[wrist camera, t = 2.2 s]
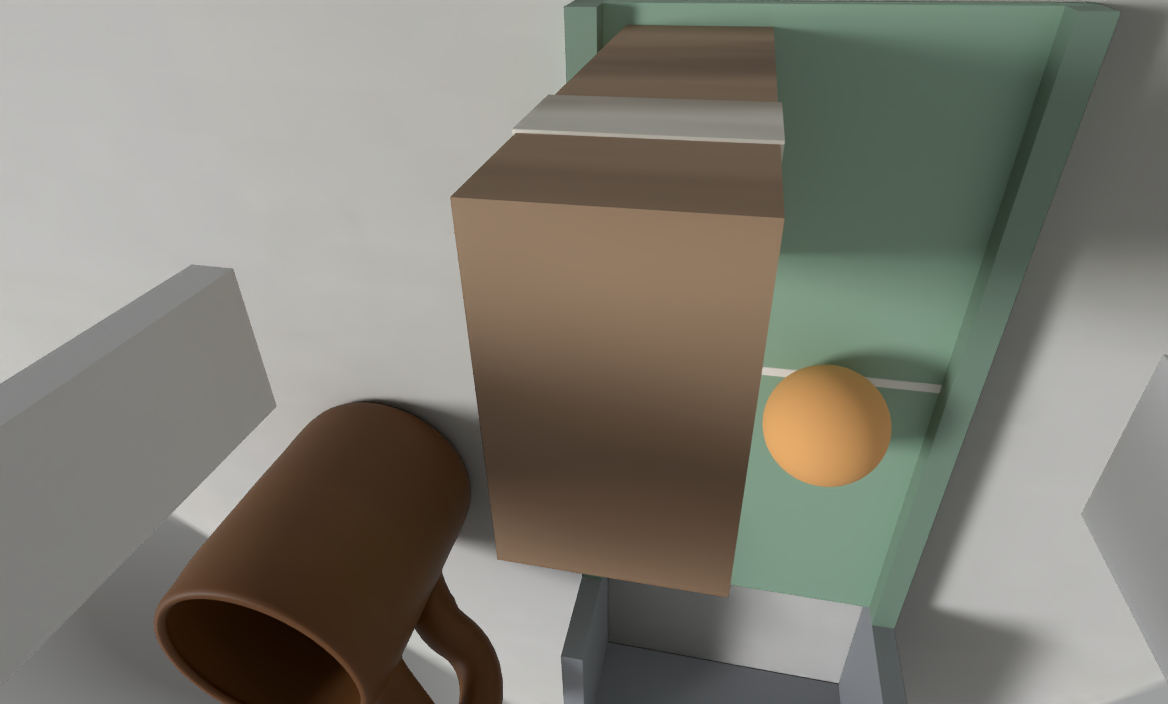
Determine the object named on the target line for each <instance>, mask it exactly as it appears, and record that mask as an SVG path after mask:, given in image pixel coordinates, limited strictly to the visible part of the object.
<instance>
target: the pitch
mask: <svg viewBox="0 0 1168 704" xmlns="http://www.w3.org/2000/svg"><path fill="white" fill-rule="evenodd" d="M1120 13H1121V11H1119V10H1116V9H1113V8H1110V7H1107V6H1104V5H1101V4H1098V3H1095V2H937V1H777V0H575V1H573V2H571V3H570V4H568V5H566V6H564V21H565V53H566V83H567V82H568V81H569V80H571V79H572V78H573V77H574V76H575V75H576V74H577V73H578V72H579V71H580V70H581V69H582V68H583V67H584V66H585V65H586V64H587V63H588V62H589V61H590V60H591V59H592V58H593V57H594V56H595V55H596V54H597V53H598V52H599V51H600V50H601V49H602V48H603V47H604V46H605V45H606V44H607V43H608V42H609V41H610V40H611V39H612V38H613V37H614V36H616V35H617V34H618V33H619V32H620V31H621V30H622V29H623V28H624V27H625V26H626V25H676V26H752V27H774V40H775V58H776V75H777V93H778V102H782V108H783V122H784V135H785V144H784V151H783V158H782V180H783V198H784V215H785V220H784V226H783V233H782V240H781V246H780V253H779V260H778V267H777V273H776V280H775V287H774V294H773V300H772V307H771V314H770V321H769V327H768V334H767V341H766V348H765V354H764V361H763V368H762V375H761V381H760V388H759V395H758V402H757V408H756V415H755V422H754V429H753V435H752V442H751V449H750V455H749V462H748V469H747V476H746V482H745V489H744V496H743V503H742V509H741V516H740V523H739V530H738V536H737V543H736V550H735V557H734V563H733V570H732V577H731V584H730V585H734V586H740V587H747V588H753V589H759V590H765V591H771V592H778V593H784V594H790V595H796V596H802V597H809V598H815V599H821V600H827V601H833V602H839V603H846V604H852V605H858V606H864V607H863V610H862V613H861V616H860V619H859V622H858V625H857V628H856V632H855V635H854V638H853V641H852V644H851V647H850V650H849V654H848V657H847V660H846V663H845V666H844V669H843V672H842V675H841V679H840V682H839V684H834V683H828V682H823V681H817V680H812V679H806V678H801V677H795V676H790V675H784V674H779V673H773V672H768V671H763V670H757V669H752V668H746V667H741V666H735V665H730V664H724V663H719V662H713V661H708V660H702V659H697V658H691V657H686V656H680V655H675V654H669V653H664V652H659V651H653V650H648V649H642V648H637V647H631V646H626V645H620V644H615V643H609V642H608V578H607V577H601V576H594V575H588V574H582V579H581V583H580V587H579V591H578V594H577V598H576V602H575V606H574V609H573V613H572V617H571V621H570V624H569V628H568V632H567V636H566V639H565V643H564V647H563V651H562V654H561V664H562V680H563V695H564V704H907V700H906V694H905V688H904V682H903V677H902V671H901V665H900V659H899V654H898V648H897V642H896V636H895V631H894V628H895V625H896V623H897V620H898V617H899V614H900V612H901V609H902V606H903V603H904V601H905V598H906V595H907V593H908V590H909V587H910V584H911V582H912V579H913V576H914V574H915V571H916V568H917V565H918V563H919V560H920V557H921V555H922V552H923V549H924V546H925V544H926V541H927V538H928V535H929V533H930V530H931V527H932V525H933V522H934V519H935V516H936V514H937V511H938V508H939V506H940V503H941V500H942V497H943V495H944V492H945V489H946V486H947V484H948V481H949V478H950V476H951V473H952V470H953V467H954V465H955V462H956V459H957V457H958V454H959V451H960V448H961V446H962V443H963V440H964V438H965V435H966V432H967V429H968V427H969V424H970V421H971V418H972V416H973V413H974V410H975V408H976V405H977V402H978V399H979V397H980V394H981V391H982V389H983V386H984V383H985V380H986V378H987V375H988V372H989V369H990V367H991V364H992V361H993V359H994V356H995V353H996V350H997V348H998V345H999V342H1000V340H1001V337H1002V334H1003V331H1004V329H1005V326H1006V323H1007V321H1008V318H1009V315H1010V312H1011V310H1012V307H1013V304H1014V301H1015V299H1016V296H1017V293H1018V291H1019V288H1020V285H1021V282H1022V280H1023V277H1024V274H1025V272H1026V269H1027V266H1028V263H1029V261H1030V258H1031V255H1032V252H1033V250H1034V247H1035V244H1036V242H1037V239H1038V236H1039V233H1040V231H1041V228H1042V225H1043V223H1044V220H1045V217H1046V214H1047V212H1048V209H1049V206H1050V203H1051V201H1052V198H1053V195H1054V193H1055V190H1056V187H1057V184H1058V182H1059V179H1060V176H1061V174H1062V171H1063V168H1064V165H1065V163H1066V160H1067V157H1068V155H1069V152H1070V149H1071V146H1072V144H1073V141H1074V138H1075V135H1076V133H1077V130H1078V127H1079V125H1080V122H1081V119H1082V116H1083V114H1084V111H1085V108H1086V106H1087V103H1088V100H1089V97H1090V95H1091V92H1092V89H1093V86H1094V84H1095V81H1096V78H1097V76H1098V73H1099V70H1100V67H1101V65H1102V62H1103V59H1104V57H1105V54H1106V51H1107V48H1108V46H1109V43H1110V40H1111V38H1112V35H1113V32H1114V29H1115V27H1116V24H1117V21H1118V18H1119V16H1120ZM824 364H825V365H836V366H841V367H845V368H848V369H851V370H853V371H855V372H857V373H859V374H860V375H862V376H864V377H865V378H866V379H868V380H869V381H870V382H871V383H872V384H873V385H874V386H875V387H876V388H877V389H878V391H879V392H880V393H881V395H882V396H883V398H884V400H885V402H886V404H887V407H888V410H889V412H890V417H891V425H892V428H891V439H890V443H889V446H888V449H887V451H886V454H885V455H884V457H883V459H882V460H881V462H880V463H879V464H878V466H877V467H876V468H875V469H874V470H873V471H871V472H870V473H869V474H868V475H866V476H865V477H864V478H862V479H860V480H858V481H856V482H853V483H851V484H847V485H843V486H838V487H821V486H815V485H811V484H808V483H805V482H802V481H800V480H798V479H796V478H794V477H793V476H791V475H790V474H788V473H787V472H786V471H785V470H783V469H782V468H781V467H780V465H779V464H778V463H777V462H776V461H775V460H774V458H773V457H772V455H771V453H770V452H769V450H768V447H767V445H766V442H765V439H764V435H763V425H762V422H763V413H764V409H765V405H766V403H767V400H768V398H769V396H770V394H771V393H772V391H773V390H774V388H775V387H776V386H777V385H778V384H779V383H780V382H781V381H782V380H783V379H784V378H785V377H787V376H788V375H790V374H791V373H793V372H795V371H797V370H799V369H802V368H805V367H809V366H814V365H824Z"/></svg>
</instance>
